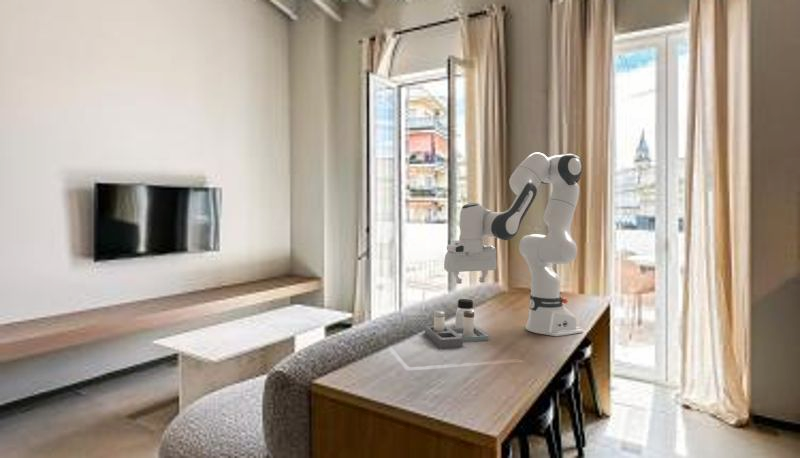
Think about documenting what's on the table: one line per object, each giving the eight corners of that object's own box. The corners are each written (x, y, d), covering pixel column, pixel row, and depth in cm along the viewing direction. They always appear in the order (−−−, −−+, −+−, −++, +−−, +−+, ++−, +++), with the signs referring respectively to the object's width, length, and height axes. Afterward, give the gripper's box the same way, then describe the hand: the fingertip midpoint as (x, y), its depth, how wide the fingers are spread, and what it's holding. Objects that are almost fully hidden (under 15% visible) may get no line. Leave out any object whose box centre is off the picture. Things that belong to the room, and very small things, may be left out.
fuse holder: (421, 335, 187) (421, 325, 187) (445, 334, 190) (445, 324, 190) (438, 352, 168) (439, 340, 168) (465, 350, 171) (466, 339, 170)
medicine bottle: (472, 331, 195) (473, 301, 195) (455, 329, 197) (456, 300, 196) (473, 326, 202) (474, 298, 202) (456, 325, 204) (457, 297, 203)
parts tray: (474, 333, 192) (475, 327, 192) (488, 342, 181) (488, 335, 181) (448, 334, 189) (449, 328, 189) (460, 344, 178) (460, 337, 178)
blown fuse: (470, 335, 187) (471, 310, 187) (475, 338, 184) (476, 313, 183) (461, 335, 186) (462, 311, 186) (465, 338, 183) (466, 313, 182)
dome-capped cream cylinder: (441, 335, 185) (442, 310, 185) (445, 338, 181) (446, 313, 181) (432, 335, 184) (432, 311, 184) (435, 338, 180) (436, 313, 180)
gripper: (492, 244, 188) (491, 280, 189) (442, 246, 183) (442, 282, 184) (500, 246, 182) (499, 283, 183) (448, 248, 177) (448, 285, 178)
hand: (470, 282), depth 184 cm, fingers open, 8 cm apart
